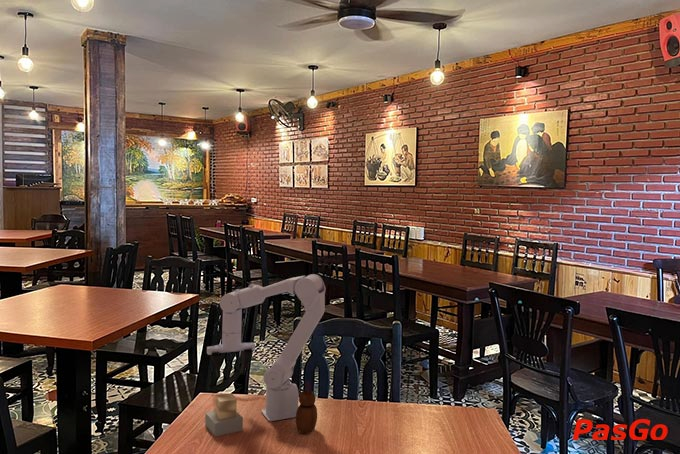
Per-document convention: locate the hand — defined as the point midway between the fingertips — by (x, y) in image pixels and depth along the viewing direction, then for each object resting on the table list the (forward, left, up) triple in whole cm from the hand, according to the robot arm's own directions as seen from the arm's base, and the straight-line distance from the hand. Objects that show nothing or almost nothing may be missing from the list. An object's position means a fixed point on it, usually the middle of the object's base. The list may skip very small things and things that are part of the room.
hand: (230, 374), depth 157 cm
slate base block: (+5, +13, -11) cm, 17 cm away
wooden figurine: (-16, +23, -11) cm, 30 cm away
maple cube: (+4, +13, -7) cm, 15 cm away
